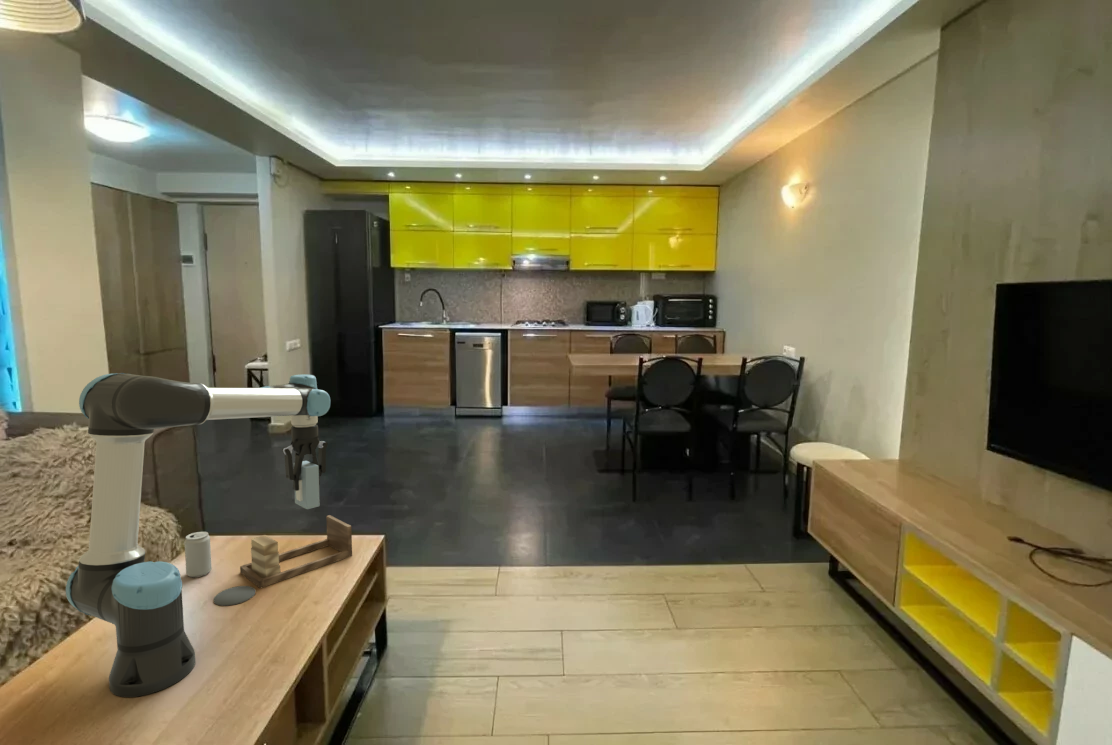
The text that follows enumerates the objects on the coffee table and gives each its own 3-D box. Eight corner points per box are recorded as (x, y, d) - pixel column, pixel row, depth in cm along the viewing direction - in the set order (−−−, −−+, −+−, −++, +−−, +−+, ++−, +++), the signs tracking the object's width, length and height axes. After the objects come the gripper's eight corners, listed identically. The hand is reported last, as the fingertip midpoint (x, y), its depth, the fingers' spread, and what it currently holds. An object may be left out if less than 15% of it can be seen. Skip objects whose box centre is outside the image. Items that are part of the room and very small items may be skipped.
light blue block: (306, 509, 168) (305, 468, 167) (294, 503, 173) (293, 463, 172) (319, 506, 171) (318, 465, 170) (307, 500, 176) (306, 460, 175)
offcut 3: (266, 583, 159) (266, 570, 159) (252, 572, 166) (251, 559, 165) (280, 578, 163) (280, 565, 162) (265, 567, 169) (265, 555, 168)
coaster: (221, 610, 145) (221, 608, 145) (208, 596, 151) (208, 595, 151) (261, 595, 152) (261, 594, 152) (247, 583, 159) (247, 582, 159)
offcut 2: (265, 569, 159) (264, 556, 159) (251, 560, 165) (251, 547, 164) (279, 565, 162) (278, 552, 162) (265, 556, 168) (264, 543, 168)
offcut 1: (264, 556, 159) (263, 546, 159) (251, 548, 164) (251, 538, 164) (278, 551, 162) (277, 541, 162) (265, 544, 167) (265, 534, 167)
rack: (259, 588, 156) (258, 554, 155) (240, 572, 165) (238, 540, 164) (352, 555, 178) (351, 525, 177) (330, 543, 187) (329, 515, 186)
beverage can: (188, 570, 166) (186, 532, 165) (213, 566, 169) (211, 529, 167) (184, 580, 160) (182, 540, 159) (210, 576, 163) (208, 537, 161)
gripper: (281, 430, 160) (284, 508, 163) (337, 422, 173) (338, 494, 176) (270, 427, 165) (273, 502, 168) (325, 419, 178) (327, 489, 181)
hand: (307, 497), depth 172 cm, fingers closed on light blue block, 4 cm apart
